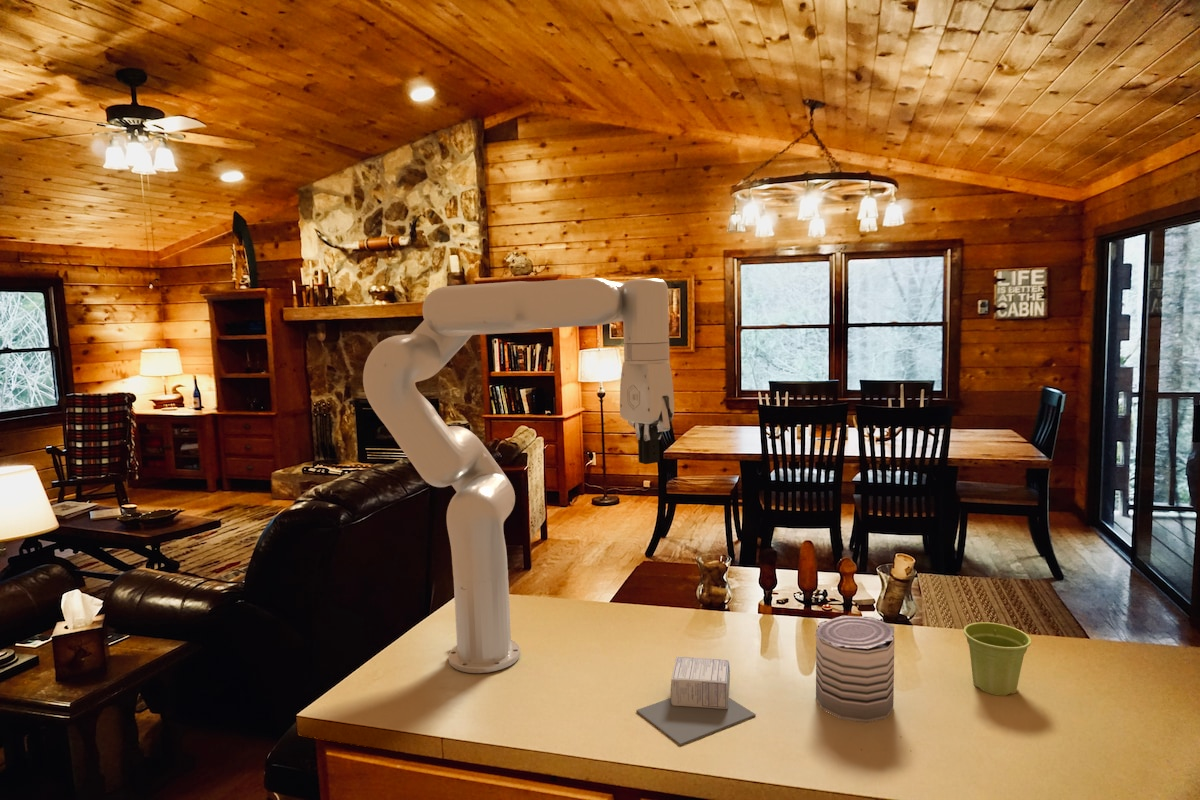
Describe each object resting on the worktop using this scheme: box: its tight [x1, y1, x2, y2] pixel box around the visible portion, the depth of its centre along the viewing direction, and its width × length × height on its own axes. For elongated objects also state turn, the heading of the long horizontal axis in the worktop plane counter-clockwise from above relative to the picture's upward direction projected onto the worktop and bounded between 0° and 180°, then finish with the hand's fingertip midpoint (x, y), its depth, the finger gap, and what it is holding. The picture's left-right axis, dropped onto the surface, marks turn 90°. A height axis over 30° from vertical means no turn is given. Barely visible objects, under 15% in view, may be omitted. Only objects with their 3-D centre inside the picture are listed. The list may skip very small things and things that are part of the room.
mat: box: [636, 697, 757, 747], centre depth 114 cm, size 11×14×1 cm
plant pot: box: [963, 621, 1032, 697], centre depth 119 cm, size 9×9×9 cm
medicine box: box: [670, 656, 731, 709], centre depth 119 cm, size 8×4×9 cm
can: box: [815, 615, 895, 724], centre depth 116 cm, size 11×11×12 cm
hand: (649, 462), depth 128 cm, fingers closed
